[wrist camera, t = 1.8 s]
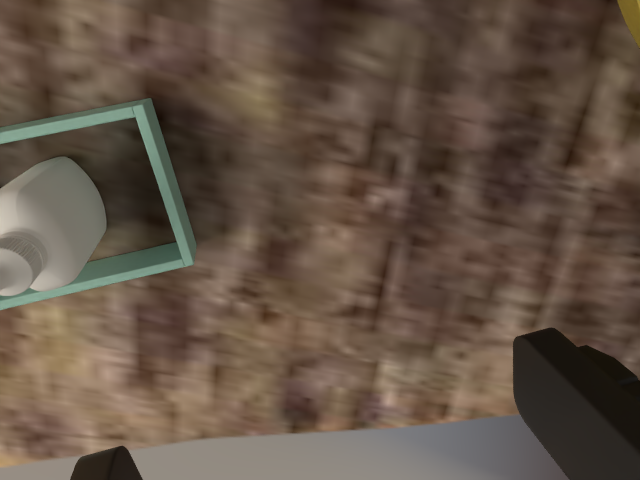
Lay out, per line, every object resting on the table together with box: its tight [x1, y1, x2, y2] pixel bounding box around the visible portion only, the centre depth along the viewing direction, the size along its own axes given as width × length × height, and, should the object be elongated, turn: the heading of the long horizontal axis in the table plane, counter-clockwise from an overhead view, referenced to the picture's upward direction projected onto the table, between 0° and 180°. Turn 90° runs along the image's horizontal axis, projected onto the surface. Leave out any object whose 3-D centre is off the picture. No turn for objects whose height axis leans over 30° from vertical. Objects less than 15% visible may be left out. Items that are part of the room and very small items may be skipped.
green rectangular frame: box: [0, 98, 197, 310], centre depth 29 cm, size 13×10×3 cm
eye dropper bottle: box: [0, 157, 107, 296], centre depth 25 cm, size 4×6×12 cm
